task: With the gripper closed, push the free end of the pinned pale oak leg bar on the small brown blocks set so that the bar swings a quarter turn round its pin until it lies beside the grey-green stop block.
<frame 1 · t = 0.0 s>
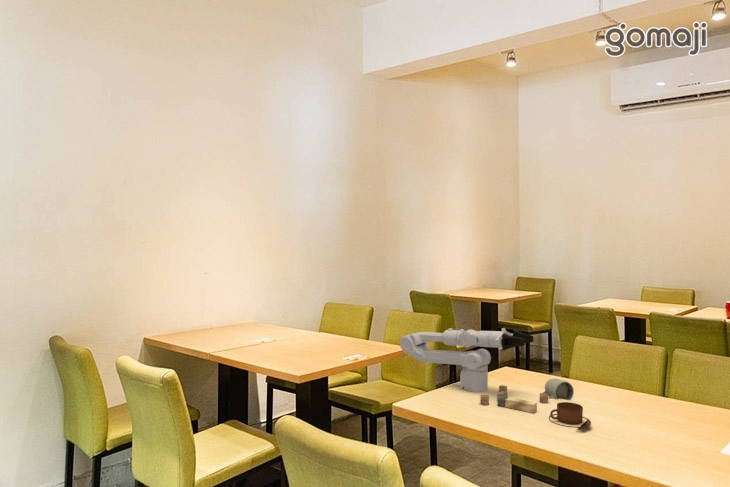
hand: (528, 340, 185), 22 cm above the table, tool horizontal, fingers open, 7 cm apart
cup and saucer: (569, 426, 164), on the table
small brown blocks set: (514, 407, 181), on the table
leg bar: (516, 404, 175), point 3 cm above the table, hinge at 0.0°
ceramic mug: (555, 401, 189), on the table
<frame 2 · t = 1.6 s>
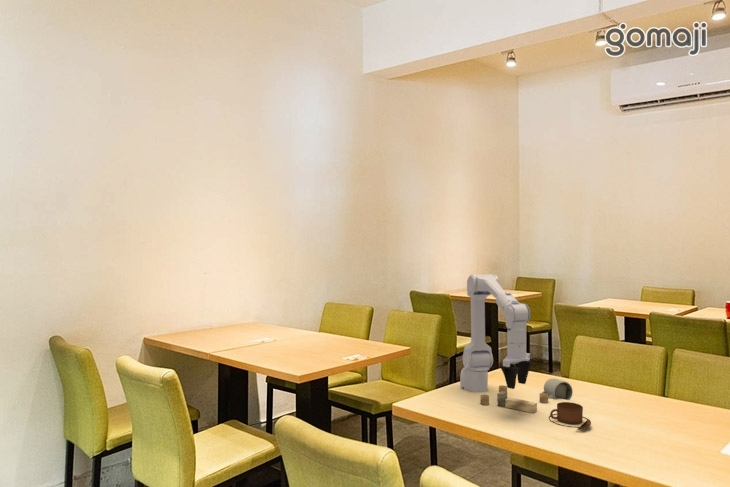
hand: (516, 385, 170), 10 cm above the table, tool pointing down, fingers open, 7 cm apart
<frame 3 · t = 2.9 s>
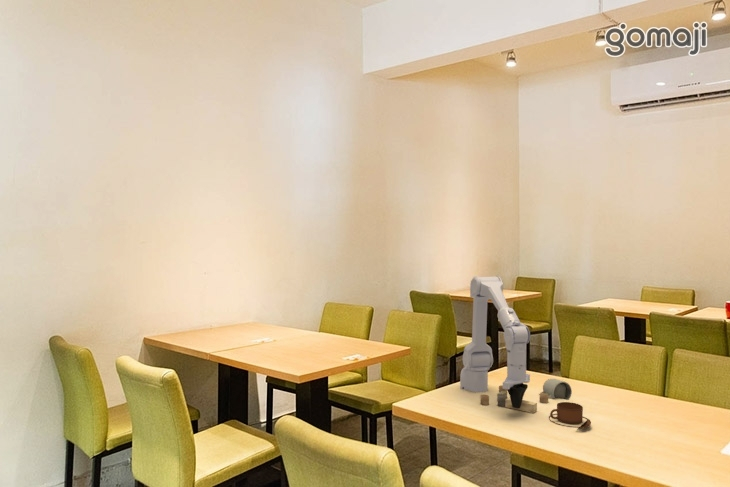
hand: (516, 407, 170), 4 cm above the table, tool pointing down, fingers closed
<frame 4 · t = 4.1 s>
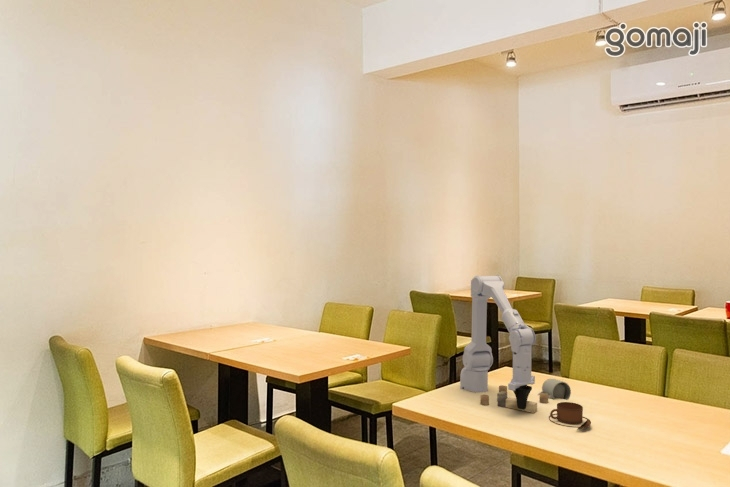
hand: (521, 408, 172), 2 cm above the table, tool pointing down, fingers closed, pressing on leg bar
leg bar: (516, 404, 176), point 3 cm above the table, hinge at 1.1°, touching gripper
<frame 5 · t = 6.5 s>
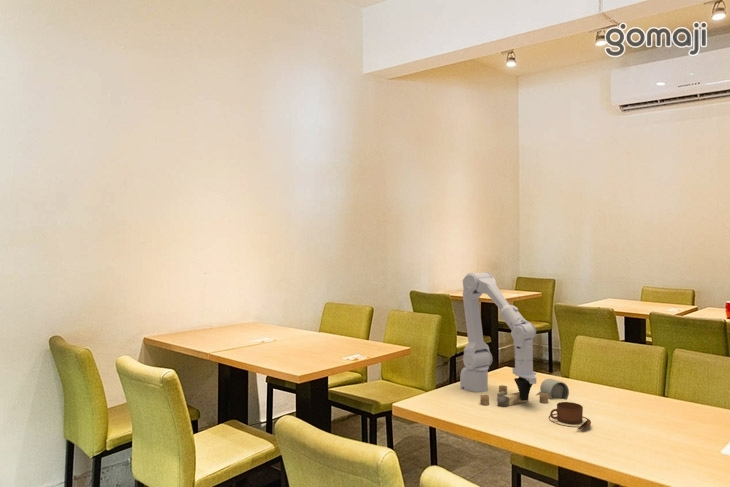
hand: (524, 400, 181), 3 cm above the table, tool pointing down, fingers closed, pressing on leg bar
leg bar: (512, 399, 181), point 3 cm above the table, hinge at 71.0°, touching gripper
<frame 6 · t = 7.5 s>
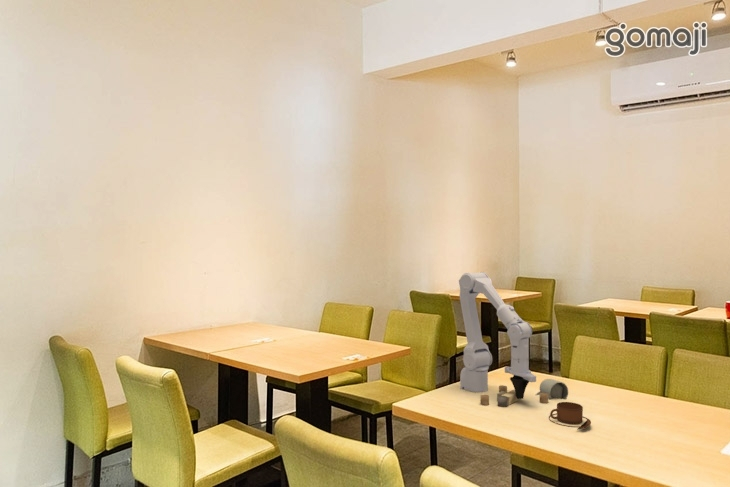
hand: (519, 398, 182), 3 cm above the table, tool pointing down, fingers closed
leg bar: (509, 398, 182), point 3 cm above the table, hinge at 87.5°, touching gripper
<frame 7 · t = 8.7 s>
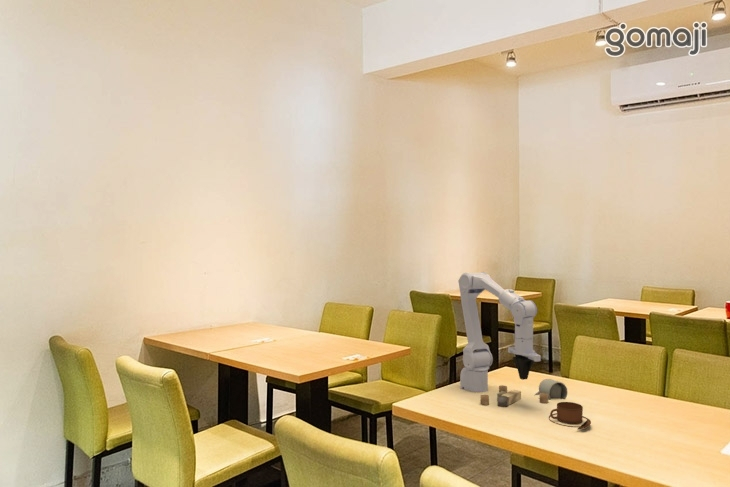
hand: (523, 378, 178), 10 cm above the table, tool pointing down, fingers closed
leg bar: (508, 398, 182), point 3 cm above the table, hinge at 87.7°
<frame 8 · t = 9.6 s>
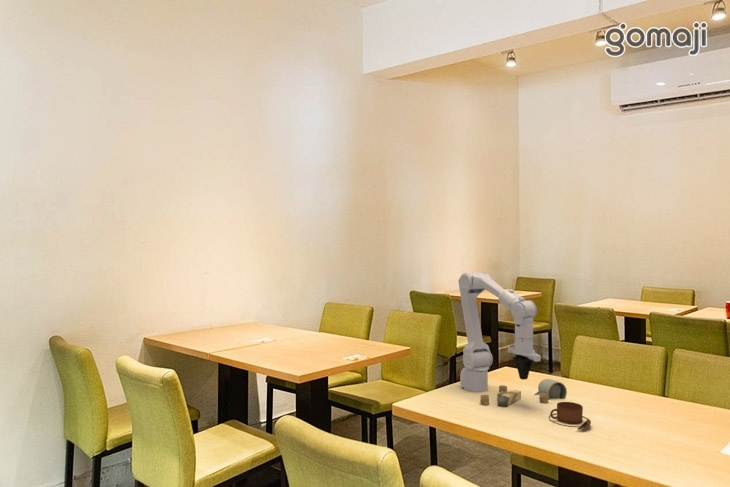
hand: (523, 378, 178), 10 cm above the table, tool pointing down, fingers closed
at the end: leg bar at +88° (first picture: +0°) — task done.
